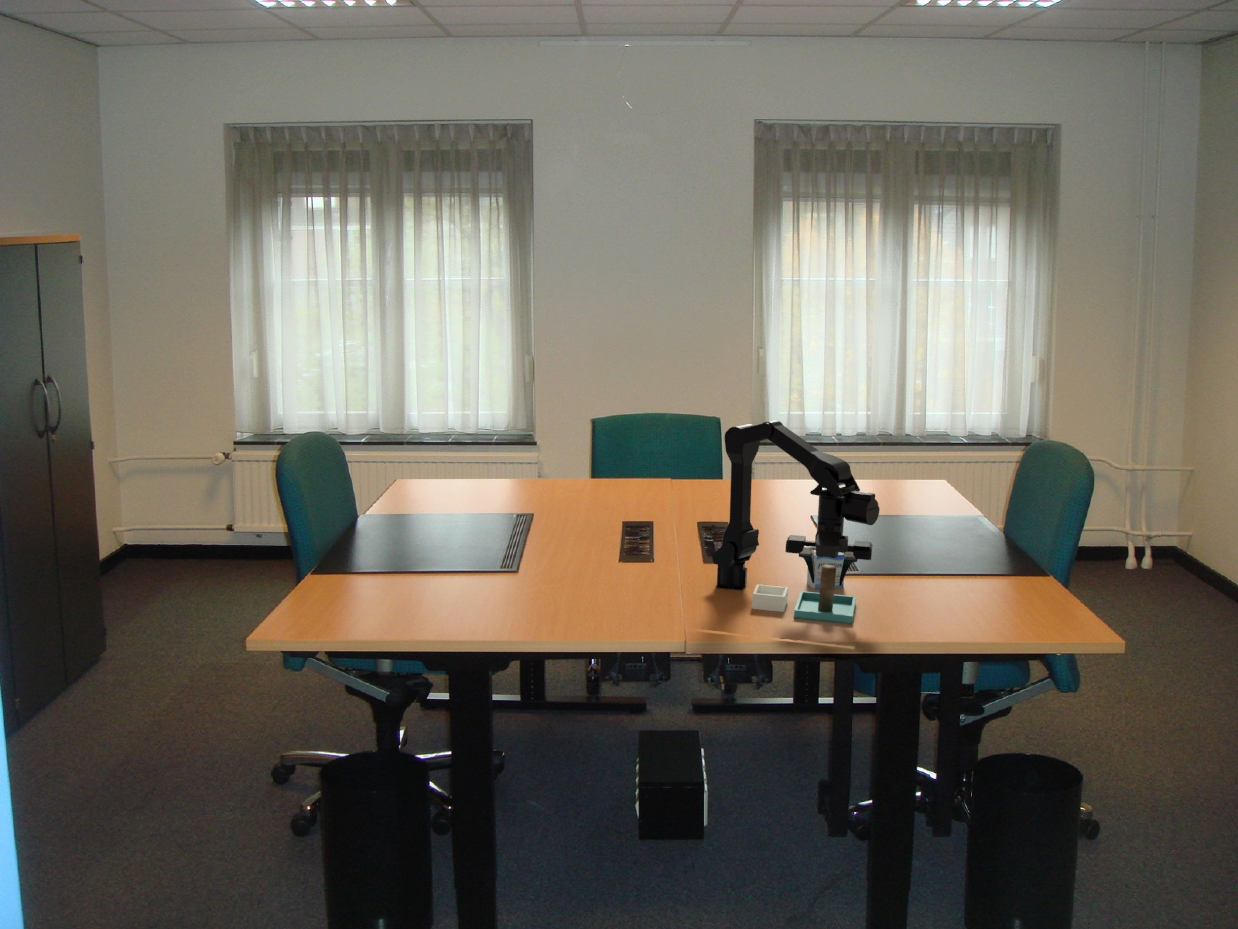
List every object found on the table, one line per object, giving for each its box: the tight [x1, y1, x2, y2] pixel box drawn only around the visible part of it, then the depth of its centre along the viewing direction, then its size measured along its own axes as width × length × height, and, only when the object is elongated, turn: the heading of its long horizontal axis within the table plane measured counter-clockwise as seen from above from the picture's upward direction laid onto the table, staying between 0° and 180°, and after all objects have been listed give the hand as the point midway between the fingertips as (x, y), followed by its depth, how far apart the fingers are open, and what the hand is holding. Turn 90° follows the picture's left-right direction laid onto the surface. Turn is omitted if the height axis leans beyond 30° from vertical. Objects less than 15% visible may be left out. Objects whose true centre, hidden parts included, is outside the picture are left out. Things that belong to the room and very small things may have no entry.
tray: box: [793, 590, 857, 625], centre depth 239 cm, size 13×14×2 cm
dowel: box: [818, 565, 836, 612], centre depth 238 cm, size 3×3×10 cm
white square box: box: [751, 584, 789, 613], centre depth 242 cm, size 7×7×4 cm
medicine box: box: [806, 551, 845, 590], centre depth 257 cm, size 8×4×9 cm, turn 105°
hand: (826, 584), depth 238 cm, fingers open, 6 cm apart
